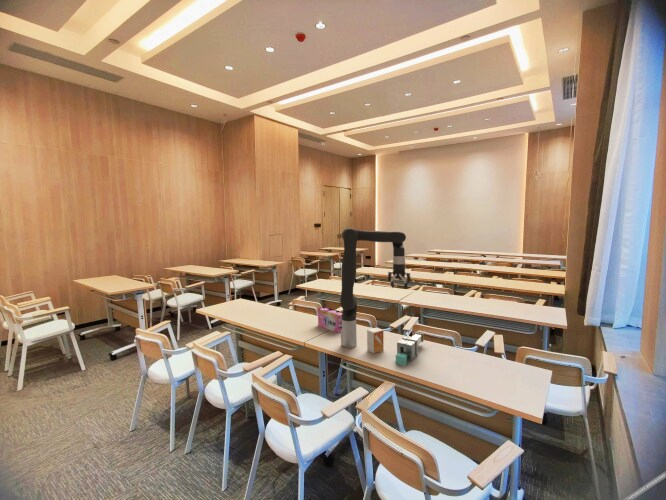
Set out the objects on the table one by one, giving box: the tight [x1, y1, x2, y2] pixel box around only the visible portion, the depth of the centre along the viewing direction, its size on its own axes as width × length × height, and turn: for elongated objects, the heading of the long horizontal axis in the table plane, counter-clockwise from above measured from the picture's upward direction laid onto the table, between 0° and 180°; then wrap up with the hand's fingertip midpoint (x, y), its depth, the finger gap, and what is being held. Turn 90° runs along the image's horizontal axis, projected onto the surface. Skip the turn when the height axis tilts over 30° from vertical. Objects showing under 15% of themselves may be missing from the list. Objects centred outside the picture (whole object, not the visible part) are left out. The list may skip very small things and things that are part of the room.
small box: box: [366, 327, 385, 354], centre depth 188 cm, size 8×6×13 cm
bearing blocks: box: [396, 336, 419, 363], centre depth 178 cm, size 9×10×10 cm
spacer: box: [395, 352, 408, 367], centre depth 171 cm, size 5×5×4 cm
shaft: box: [403, 331, 425, 353], centre depth 186 cm, size 5×24×5 cm, turn 146°
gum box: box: [317, 306, 343, 333], centre depth 232 cm, size 24×8×14 cm, turn 39°
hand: (399, 288), depth 197 cm, fingers open, 8 cm apart
